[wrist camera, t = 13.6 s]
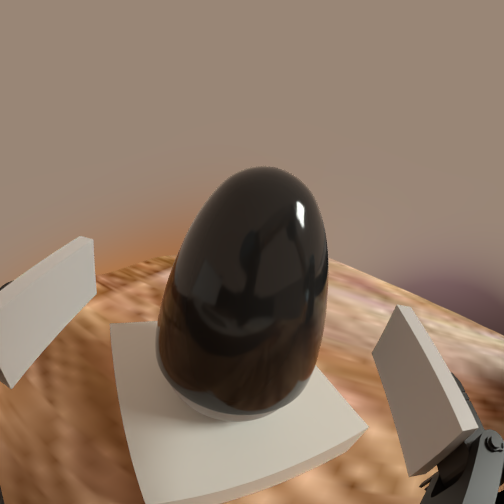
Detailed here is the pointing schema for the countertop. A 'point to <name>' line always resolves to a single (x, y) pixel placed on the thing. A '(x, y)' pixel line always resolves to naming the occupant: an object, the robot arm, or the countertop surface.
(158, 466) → the riser
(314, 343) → the dark brown rounded piece
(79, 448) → the countertop surface
